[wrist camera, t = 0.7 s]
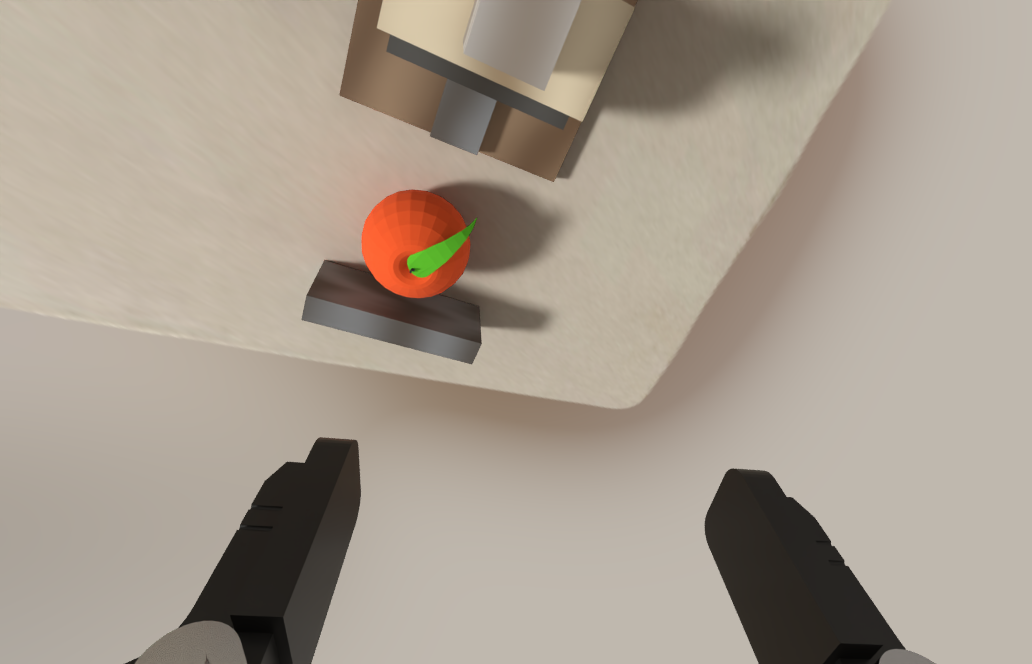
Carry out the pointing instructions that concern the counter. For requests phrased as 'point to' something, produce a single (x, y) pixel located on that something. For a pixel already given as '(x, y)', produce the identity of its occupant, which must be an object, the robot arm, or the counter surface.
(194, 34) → the counter surface
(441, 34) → the jaw
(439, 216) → the clementine
